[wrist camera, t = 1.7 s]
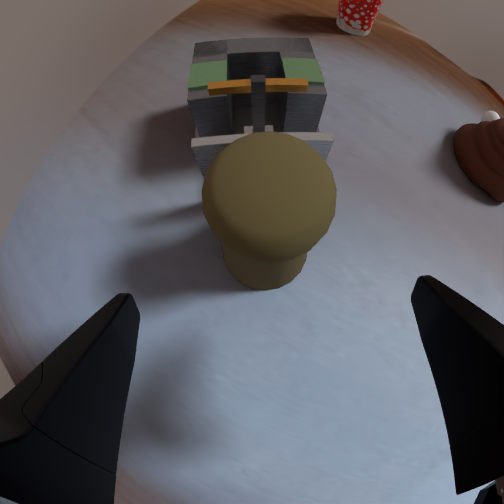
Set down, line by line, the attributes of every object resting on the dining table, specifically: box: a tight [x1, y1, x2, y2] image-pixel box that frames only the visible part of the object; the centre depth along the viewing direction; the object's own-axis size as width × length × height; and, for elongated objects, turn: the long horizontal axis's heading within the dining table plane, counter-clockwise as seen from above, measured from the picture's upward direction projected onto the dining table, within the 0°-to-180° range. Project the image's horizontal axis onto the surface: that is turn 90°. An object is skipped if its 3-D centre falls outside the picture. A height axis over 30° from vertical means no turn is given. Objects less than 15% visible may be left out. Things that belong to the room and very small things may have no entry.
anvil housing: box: [187, 38, 327, 138], centre depth 18 cm, size 6×10×7 cm, turn 93°
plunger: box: [191, 75, 334, 179], centre depth 17 cm, size 4×7×8 cm, turn 93°
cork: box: [202, 131, 337, 290], centre depth 14 cm, size 6×6×11 cm
